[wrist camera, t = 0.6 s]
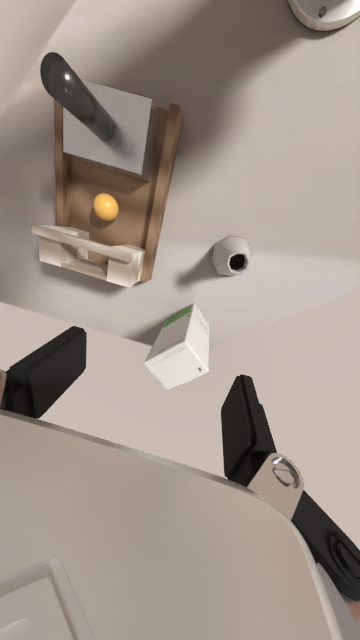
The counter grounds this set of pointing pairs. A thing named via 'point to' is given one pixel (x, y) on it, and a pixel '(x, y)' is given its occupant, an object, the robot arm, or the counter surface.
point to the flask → (231, 256)
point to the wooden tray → (131, 222)
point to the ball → (105, 207)
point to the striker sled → (102, 121)
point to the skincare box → (180, 349)
